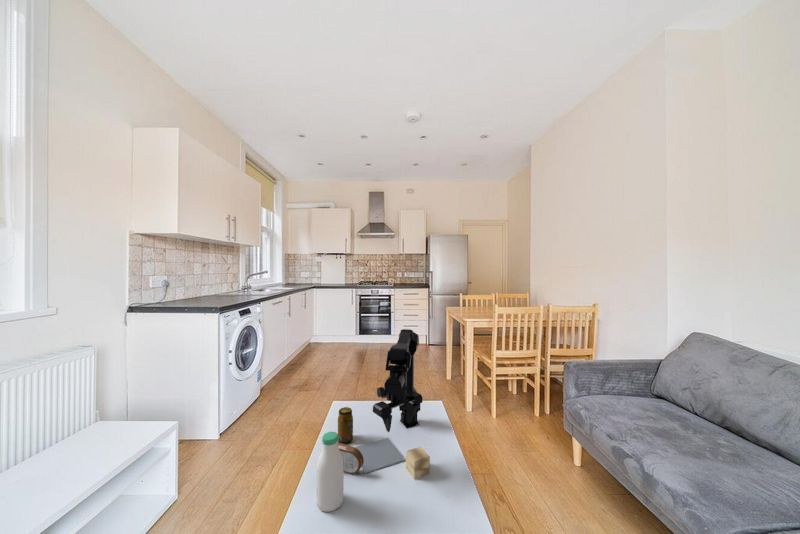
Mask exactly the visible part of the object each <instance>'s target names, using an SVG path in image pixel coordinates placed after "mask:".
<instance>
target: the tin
mask: <svg viewBox="0 0 800 534" xmlns="http://www.w3.org/2000/svg"><path fill="white" fill-rule="evenodd" d="M337 445H338V448H339V451H340V453H341V455H342V458H343V473H344V474H345V473H346V474H349V475H356V474H357V473H359V471H360V470H361V468H362V466H363V463H364V459H363V455H362V453H361V452H360V451H359V450H358V449H357V448H355V447H356V446H353V445H351V446H349V445H344V444H340V443H337Z"/></svg>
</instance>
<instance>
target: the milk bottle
mask: <svg viewBox="0 0 800 534" xmlns="http://www.w3.org/2000/svg"><path fill="white" fill-rule="evenodd" d="M321 441H322V442H321V443H322V449H321V452H320V454H319V457H318V459H317V465H316V505H317V508H318V509H319V510H320V511H322V512H325V513H326V512H327V513H328V512H329V513H330V512H333V511H336V510H338V509H339V508H340V507H341V506H342V504H343V503H344V472H343V458H342V455H341V453H340V451H339V448H338V445H337V443H338V432H336V431H327V432H325V433H324V434H323V435H322V438H321Z"/></svg>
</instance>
